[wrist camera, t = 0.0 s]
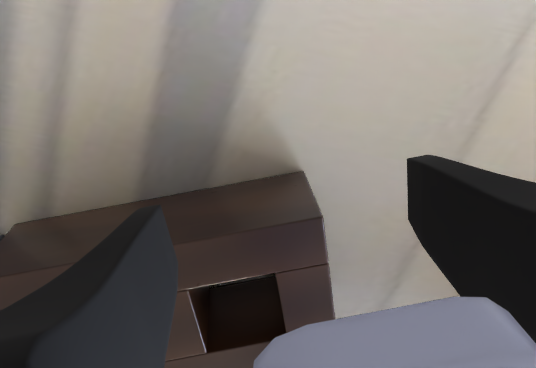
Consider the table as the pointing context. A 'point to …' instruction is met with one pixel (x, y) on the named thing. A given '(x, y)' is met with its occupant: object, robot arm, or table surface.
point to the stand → (204, 264)
